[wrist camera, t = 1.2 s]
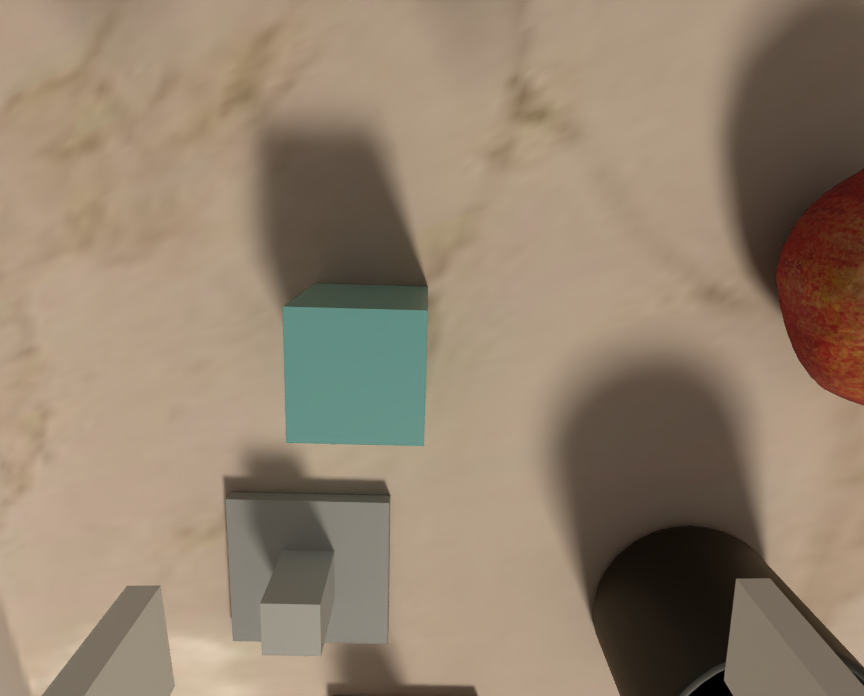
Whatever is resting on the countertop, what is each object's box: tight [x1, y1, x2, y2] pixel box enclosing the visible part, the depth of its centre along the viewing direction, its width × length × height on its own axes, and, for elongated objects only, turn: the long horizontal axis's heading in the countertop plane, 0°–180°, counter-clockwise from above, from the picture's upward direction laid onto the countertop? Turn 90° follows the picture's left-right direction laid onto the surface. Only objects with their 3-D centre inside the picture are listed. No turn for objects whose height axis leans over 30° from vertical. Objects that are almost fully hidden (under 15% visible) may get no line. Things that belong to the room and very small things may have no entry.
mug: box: [593, 526, 864, 696], centre depth 28 cm, size 9×12×9 cm
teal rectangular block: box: [283, 283, 428, 446], centre depth 26 cm, size 5×5×7 cm
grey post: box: [225, 492, 390, 656], centre depth 29 cm, size 8×8×5 cm
